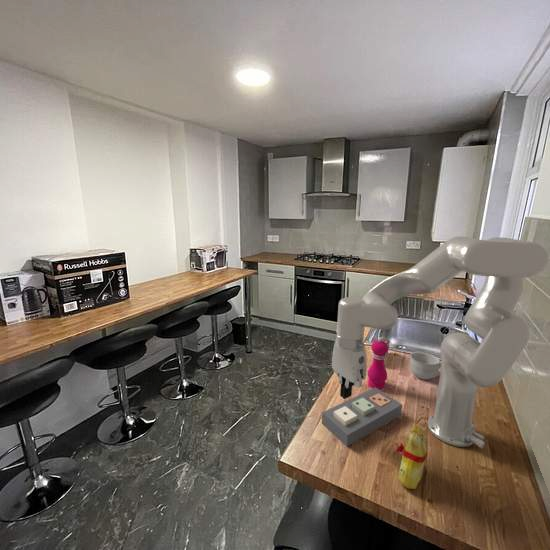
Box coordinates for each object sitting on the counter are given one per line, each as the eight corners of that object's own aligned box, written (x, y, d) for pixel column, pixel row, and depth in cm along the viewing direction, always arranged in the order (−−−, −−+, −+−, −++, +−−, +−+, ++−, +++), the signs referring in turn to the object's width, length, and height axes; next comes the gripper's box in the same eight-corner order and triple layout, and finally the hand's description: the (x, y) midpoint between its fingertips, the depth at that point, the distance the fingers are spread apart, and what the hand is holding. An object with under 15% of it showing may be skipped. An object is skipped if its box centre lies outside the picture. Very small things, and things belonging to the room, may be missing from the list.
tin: (382, 351, 139) (384, 335, 137) (389, 353, 137) (391, 336, 136) (372, 365, 127) (374, 347, 125) (380, 367, 126) (381, 349, 124)
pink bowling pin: (387, 391, 109) (392, 342, 104) (367, 389, 111) (371, 340, 106) (384, 380, 116) (389, 334, 111) (365, 378, 117) (369, 332, 113)
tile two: (374, 415, 94) (374, 405, 93) (363, 421, 91) (364, 411, 91) (362, 406, 98) (362, 397, 97) (351, 412, 96) (352, 402, 95)
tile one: (356, 425, 90) (357, 414, 89) (344, 431, 87) (345, 421, 87) (344, 415, 94) (345, 405, 93) (333, 421, 92) (333, 411, 91)
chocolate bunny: (427, 465, 78) (434, 417, 75) (416, 496, 70) (423, 444, 66) (401, 452, 82) (406, 406, 79) (387, 479, 74) (392, 429, 71)
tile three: (389, 410, 98) (390, 400, 98) (379, 415, 96) (380, 405, 95) (377, 401, 103) (378, 392, 102) (367, 406, 100) (368, 397, 99)
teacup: (403, 374, 120) (405, 357, 118) (415, 365, 127) (417, 348, 125) (440, 390, 110) (443, 371, 108) (450, 378, 117) (453, 360, 115)
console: (401, 414, 97) (402, 404, 96) (346, 446, 84) (347, 435, 83) (374, 396, 106) (375, 387, 105) (321, 423, 93) (322, 412, 92)
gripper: (379, 347, 80) (373, 406, 84) (340, 328, 92) (337, 380, 97) (360, 354, 76) (355, 415, 80) (322, 333, 88) (320, 387, 93)
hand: (345, 396), depth 88 cm, fingers closed
